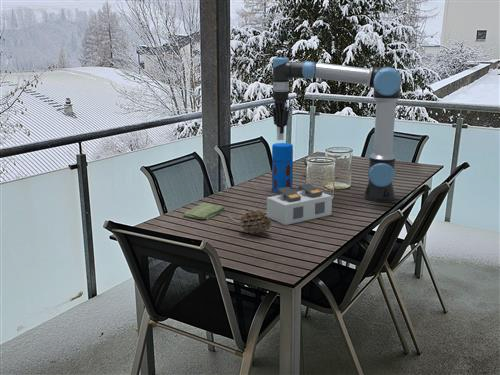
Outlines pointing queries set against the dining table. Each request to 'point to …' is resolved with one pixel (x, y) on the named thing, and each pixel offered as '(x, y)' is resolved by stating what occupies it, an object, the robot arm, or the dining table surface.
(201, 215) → the washcloth
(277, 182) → the thermos
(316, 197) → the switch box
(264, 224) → the pine cone
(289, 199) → the outer rocker
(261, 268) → the dining table surface
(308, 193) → the inner rocker
